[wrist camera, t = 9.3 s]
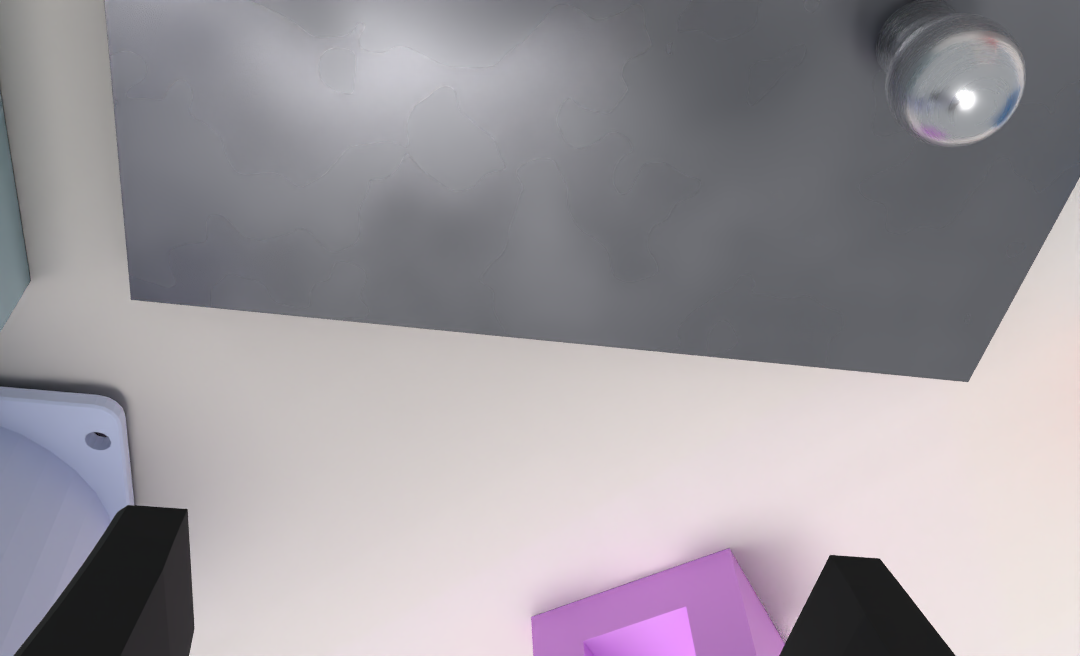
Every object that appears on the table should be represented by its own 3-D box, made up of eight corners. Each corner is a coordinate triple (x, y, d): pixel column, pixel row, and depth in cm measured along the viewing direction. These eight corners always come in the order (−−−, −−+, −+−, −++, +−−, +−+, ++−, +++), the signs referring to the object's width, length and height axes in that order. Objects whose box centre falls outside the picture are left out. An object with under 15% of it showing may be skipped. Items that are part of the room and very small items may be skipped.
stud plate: (954, 358, 22) (1019, 470, 20) (141, 275, 20) (90, 390, 17) (1366, -430, 14) (1577, -420, 11) (60, -732, 12) (-63, -813, 9)
